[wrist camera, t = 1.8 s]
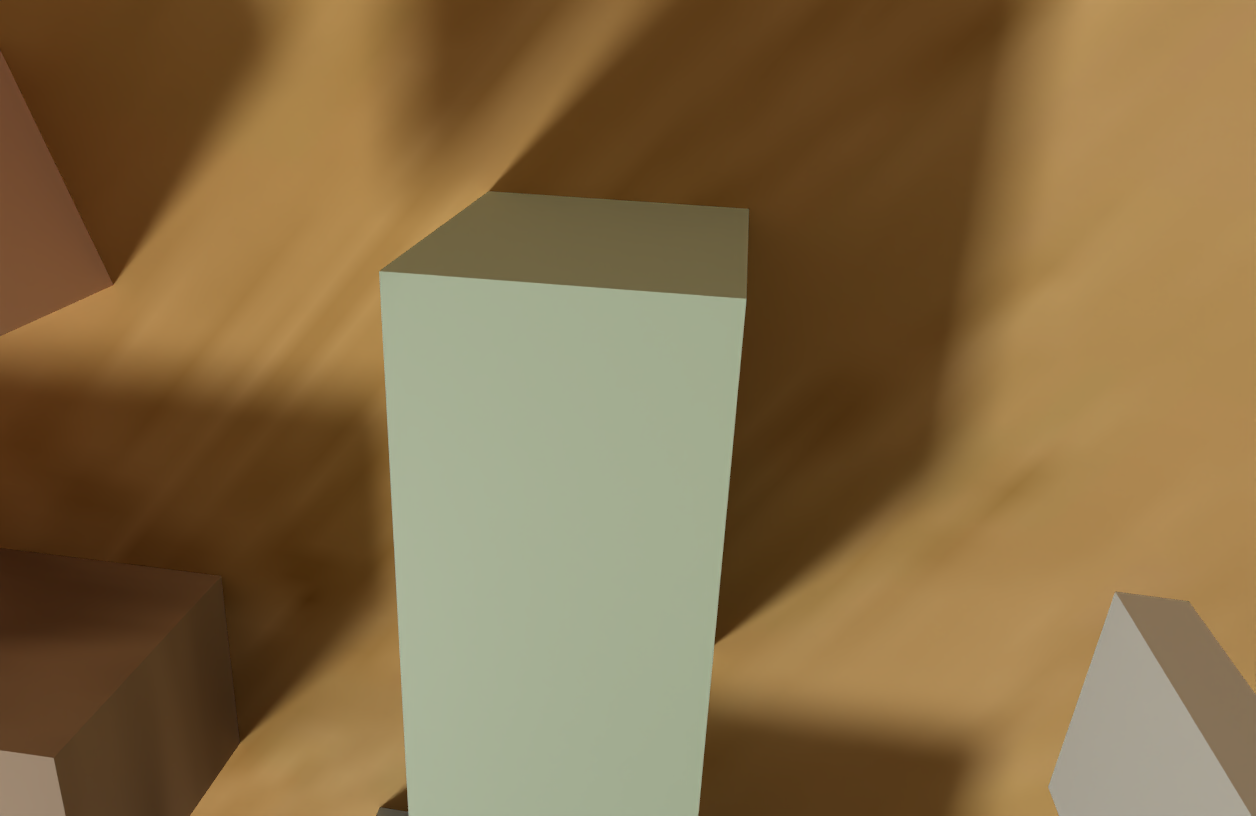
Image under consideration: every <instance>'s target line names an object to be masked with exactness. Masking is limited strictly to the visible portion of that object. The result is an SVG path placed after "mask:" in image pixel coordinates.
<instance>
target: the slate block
mask: <svg viewBox="0 0 1256 816" xmlns="http://www.w3.org/2000/svg"><path fill="white" fill-rule="evenodd" d="M376 816H409V814H408V812H406V811H400V810H394V809H388V808H382V807H380V808H379V810H378V813H377V815H376Z"/></svg>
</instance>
